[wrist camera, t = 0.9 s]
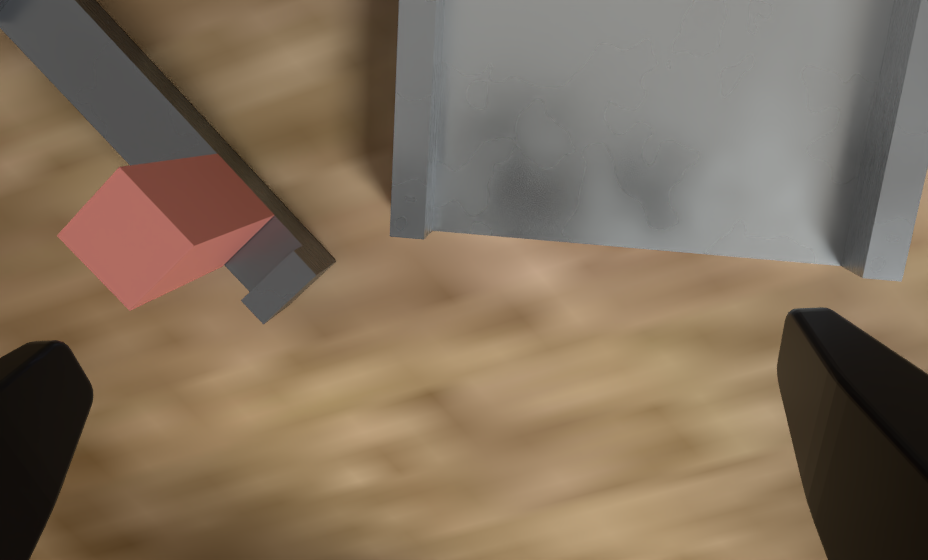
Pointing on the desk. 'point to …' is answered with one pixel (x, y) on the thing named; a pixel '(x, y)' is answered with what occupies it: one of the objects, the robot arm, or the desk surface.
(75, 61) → the rail
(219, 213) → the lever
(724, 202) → the grey flat slab
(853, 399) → the robot arm
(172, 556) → the desk surface
